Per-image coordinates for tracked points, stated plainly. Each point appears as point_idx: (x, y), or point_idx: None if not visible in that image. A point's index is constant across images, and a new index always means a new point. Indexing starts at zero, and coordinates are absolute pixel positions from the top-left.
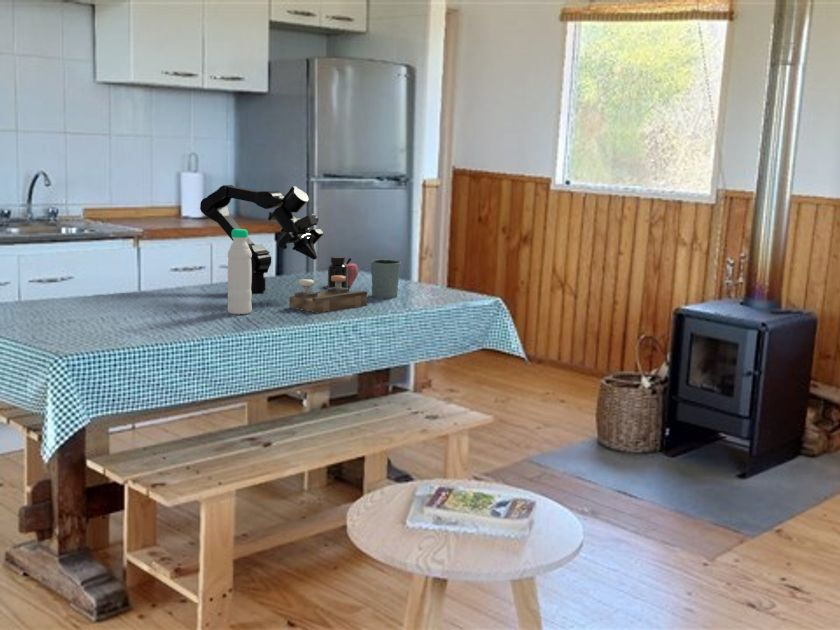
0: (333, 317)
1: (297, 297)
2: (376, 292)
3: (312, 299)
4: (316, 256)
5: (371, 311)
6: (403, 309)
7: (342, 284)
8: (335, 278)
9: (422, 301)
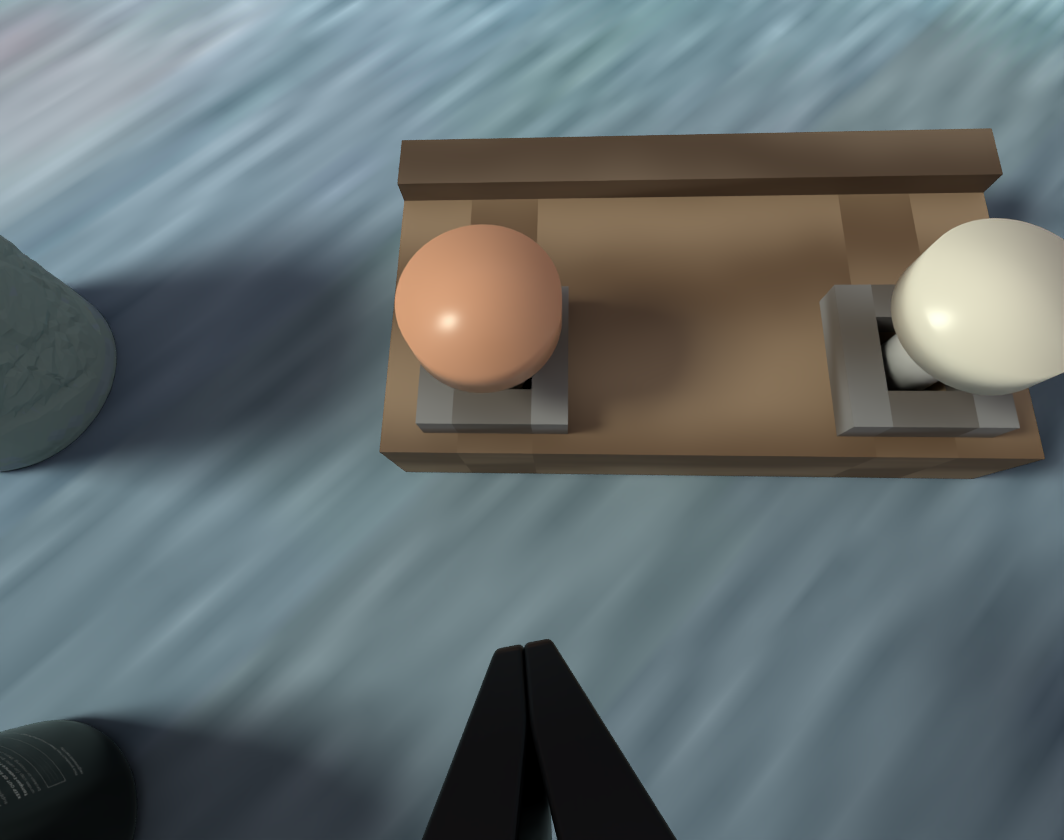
0: (903, 68)
1: None
2: (87, 358)
3: (991, 182)
4: (508, 659)
5: (569, 70)
6: (371, 16)
7: (25, 743)
8: (556, 277)
9: (52, 112)
